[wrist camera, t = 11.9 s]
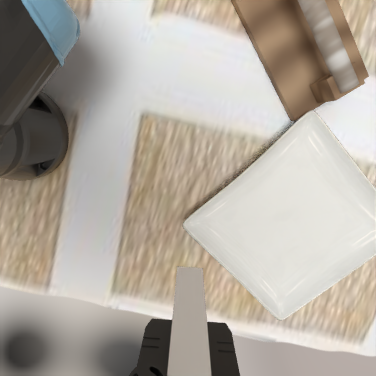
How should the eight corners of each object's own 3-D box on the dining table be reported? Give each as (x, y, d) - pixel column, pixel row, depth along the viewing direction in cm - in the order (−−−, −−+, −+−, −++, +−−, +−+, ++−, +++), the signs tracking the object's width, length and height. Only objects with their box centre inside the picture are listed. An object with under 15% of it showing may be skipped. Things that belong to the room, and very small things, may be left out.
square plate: (180, 217, 44) (179, 226, 41) (303, 108, 40) (314, 106, 36) (274, 310, 49) (281, 326, 45) (395, 223, 44) (414, 232, 40)
